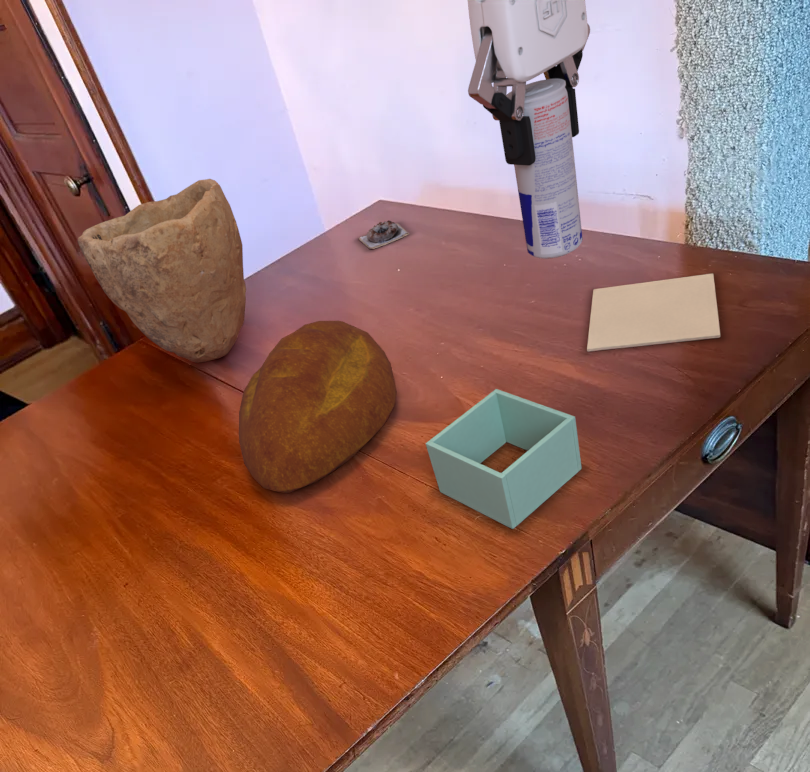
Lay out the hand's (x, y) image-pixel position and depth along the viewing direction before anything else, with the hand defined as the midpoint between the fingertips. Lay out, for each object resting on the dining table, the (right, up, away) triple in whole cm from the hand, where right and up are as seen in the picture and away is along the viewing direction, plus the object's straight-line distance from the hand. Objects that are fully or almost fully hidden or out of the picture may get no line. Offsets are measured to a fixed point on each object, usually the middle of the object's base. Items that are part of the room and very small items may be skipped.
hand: (542, 147), depth 70 cm
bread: (-24, -21, +31) cm, 44 cm away
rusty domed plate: (-17, +21, +74) cm, 78 cm away
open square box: (-1, -30, +13) cm, 33 cm away
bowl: (-44, -6, +55) cm, 71 cm away
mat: (+20, -7, +30) cm, 36 cm away
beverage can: (+3, -7, +7) cm, 10 cm away
